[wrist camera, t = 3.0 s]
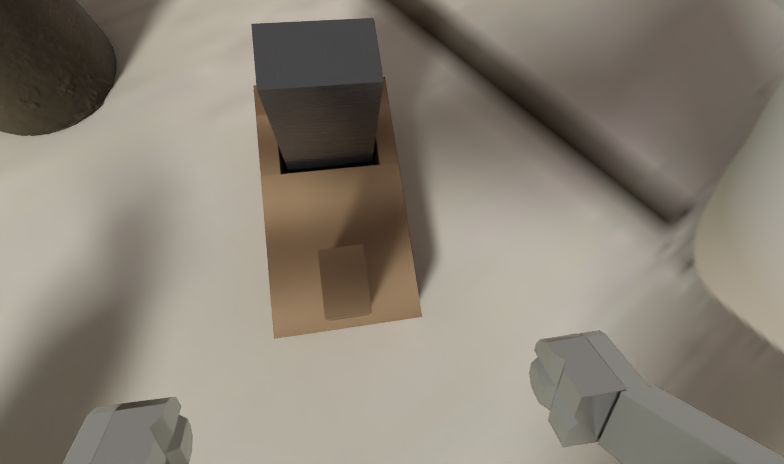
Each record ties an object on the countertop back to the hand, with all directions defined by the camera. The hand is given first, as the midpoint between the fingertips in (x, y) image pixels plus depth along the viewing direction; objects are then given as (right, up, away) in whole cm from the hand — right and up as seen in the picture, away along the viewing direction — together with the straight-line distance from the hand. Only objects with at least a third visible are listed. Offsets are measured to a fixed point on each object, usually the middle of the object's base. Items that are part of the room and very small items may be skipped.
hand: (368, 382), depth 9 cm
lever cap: (-4, +8, +19) cm, 21 cm away
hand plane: (-3, +5, +18) cm, 19 cm away
